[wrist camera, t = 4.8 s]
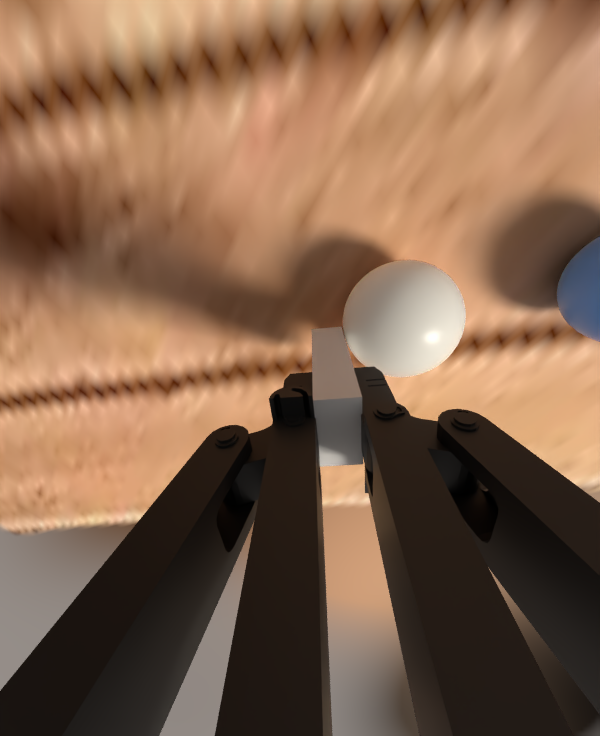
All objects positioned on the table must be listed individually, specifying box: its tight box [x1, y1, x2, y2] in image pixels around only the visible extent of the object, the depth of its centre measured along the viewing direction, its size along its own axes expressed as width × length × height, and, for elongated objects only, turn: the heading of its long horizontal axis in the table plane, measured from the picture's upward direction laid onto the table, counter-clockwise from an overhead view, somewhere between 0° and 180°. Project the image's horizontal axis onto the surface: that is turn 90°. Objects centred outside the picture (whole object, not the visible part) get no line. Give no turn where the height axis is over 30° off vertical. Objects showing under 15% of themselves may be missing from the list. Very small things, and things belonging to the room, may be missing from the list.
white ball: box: [343, 260, 466, 377], centre depth 14 cm, size 6×6×6 cm
